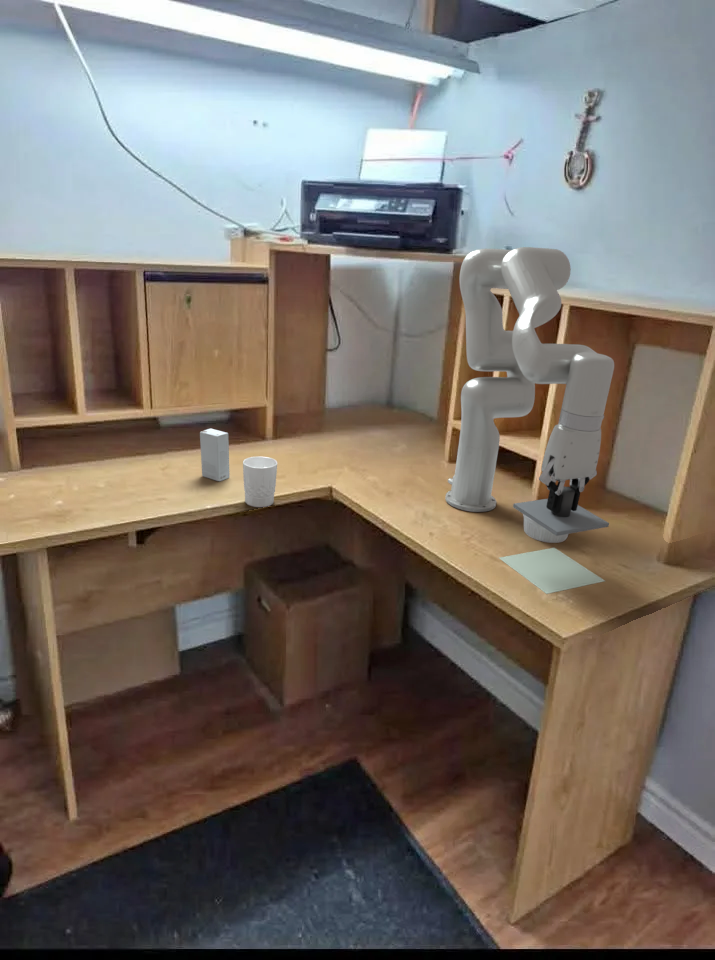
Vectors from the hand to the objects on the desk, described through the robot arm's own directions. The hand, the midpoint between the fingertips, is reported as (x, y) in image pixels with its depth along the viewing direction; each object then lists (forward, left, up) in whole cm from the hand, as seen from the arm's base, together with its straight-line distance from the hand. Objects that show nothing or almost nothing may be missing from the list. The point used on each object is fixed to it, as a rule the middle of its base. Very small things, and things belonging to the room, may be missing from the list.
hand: (561, 508), depth 131 cm
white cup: (-50, -46, -14) cm, 69 cm away
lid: (0, 0, -2) cm, 2 cm away
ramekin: (-14, +10, -14) cm, 22 cm away
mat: (0, 0, -14) cm, 14 cm away
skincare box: (-68, -52, -14) cm, 86 cm away
